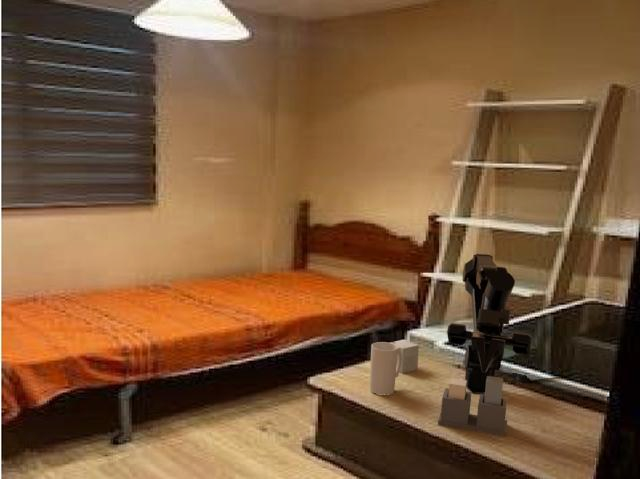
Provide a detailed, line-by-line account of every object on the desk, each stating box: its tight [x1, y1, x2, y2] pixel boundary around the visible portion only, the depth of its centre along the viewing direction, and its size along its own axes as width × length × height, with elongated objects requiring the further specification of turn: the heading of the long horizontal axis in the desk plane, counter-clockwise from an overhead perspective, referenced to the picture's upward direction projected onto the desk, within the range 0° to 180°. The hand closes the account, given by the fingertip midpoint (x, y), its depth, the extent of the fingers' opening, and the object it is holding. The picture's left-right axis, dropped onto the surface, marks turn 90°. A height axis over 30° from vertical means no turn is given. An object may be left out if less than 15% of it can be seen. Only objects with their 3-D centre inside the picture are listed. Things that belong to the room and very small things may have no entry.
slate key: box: [484, 376, 504, 406], centre depth 141 cm, size 4×4×7 cm
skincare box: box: [389, 339, 420, 374], centre depth 177 cm, size 6×6×7 cm
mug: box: [369, 341, 402, 396], centre depth 161 cm, size 10×7×12 cm, turn 129°
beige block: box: [448, 377, 467, 400], centre depth 144 cm, size 4×4×7 cm
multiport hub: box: [511, 368, 562, 384], centre depth 175 cm, size 4×14×2 cm, turn 113°
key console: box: [437, 387, 508, 437], centre depth 143 cm, size 6×15×6 cm, turn 72°
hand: (483, 371), depth 141 cm, fingers closed
